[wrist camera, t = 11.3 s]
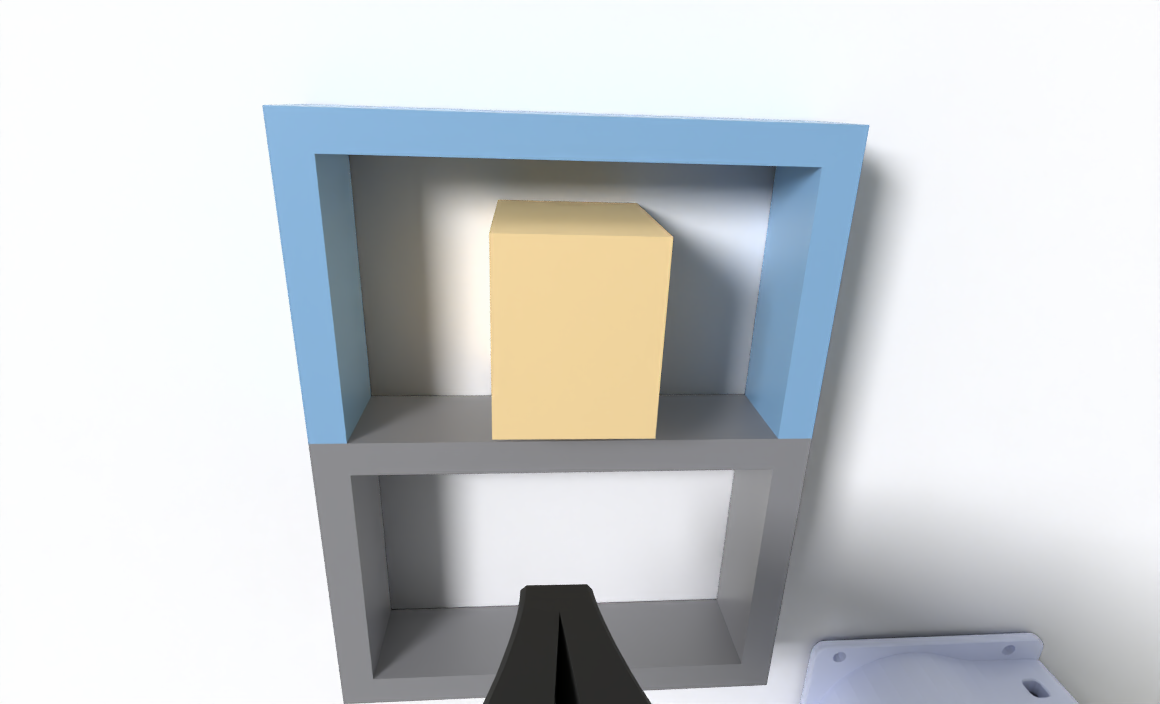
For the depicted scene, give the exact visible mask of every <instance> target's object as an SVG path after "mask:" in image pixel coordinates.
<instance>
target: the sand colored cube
mask: <svg viewBox="0 0 1160 704" xmlns="http://www.w3.org/2000/svg"><path fill="white" fill-rule="evenodd" d="M672 246H673V236H672V235H670V234H669V233H668V232H667V231H666V230H665V229H664V228H663V227H662V226H661V225H660V224H659V223H658V222H656V221H655V220H654V219H653V218H652V217H651V216H650V215H649V214H648V213H647V212H646V211H645V210H644V209H642V208H641V207H640V206H639V205H638V204H637V203H606V202H568V201H529V200H498V202H497V206H496V209H495V213H494V217H493V221H492V225H491V228H490V232H489V251H490V323H491V395H492V440H508V439H655V436H656V425H657V413H658V402H659V391H660V380H661V369H662V358H663V347H664V335H665V324H666V313H667V302H668V291H669V280H670V269H671V258H672Z"/></svg>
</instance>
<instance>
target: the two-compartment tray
mask: <svg viewBox="0 0 1160 704" xmlns="http://www.w3.org/2000/svg"><path fill="white" fill-rule="evenodd" d="M263 113H264V120H265V127H266V135H267V142H268V150H269V157H270V164H271V172H272V179H273V186H274V194H275V201H276V208H277V216H278V223H279V230H280V238H281V245H282V252H283V260H284V267H285V275H286V282H287V289H288V297H289V304H290V311H291V319H292V326H293V333H294V341H295V348H296V355H297V363H298V370H299V378H300V385H301V392H302V400H303V407H304V414H305V422H306V429H307V436H308V444H309V451H310V458H311V466H312V473H313V480H314V488H315V495H316V503H317V510H318V517H319V525H320V532H321V539H322V547H323V554H324V561H325V569H326V576H327V583H328V591H329V598H330V606H331V613H332V620H333V628H334V635H335V642H336V650H337V657H338V664H339V672H340V679H341V686H342V694H343V701H344V704H354V703H376V702H398V701H421V700H443V699H465V698H486V696H487V694H488V692H489V690H490V687H491V685H492V683H493V681H494V679H495V676H496V674H497V671H498V669H499V666H500V664H501V661H502V658H503V656H504V653H505V650H506V648H507V645H508V642H509V639H510V636H511V633H512V630H513V626H514V623H515V619H516V616H517V611H518V607H519V606H497V607H466V608H436V609H406V610H391V602H390V592H389V581H388V570H387V559H386V549H385V538H384V527H383V517H382V506H381V495H380V484H379V475H417V474H483V473H549V472H615V471H681V470H734V476H733V484H732V491H731V498H730V506H729V513H728V520H727V527H726V535H725V542H724V549H723V557H722V564H721V571H720V578H719V586H718V593H717V599H710V600H679V601H649V602H618V603H597V605H598V607H599V610H600V612H601V614H602V617H603V619H604V621H605V623H606V625H607V627H608V629H609V631H610V633H611V636H612V638H613V639H614V641H615V643H616V645H617V647H618V649H619V651H620V653H621V654H622V656H623V658H624V660H625V661H626V663H627V665H628V667H629V669H630V670H631V672H632V674H633V675H634V677H635V679H636V680H637V682H638V684H639V685H640V687H641V689H642V690H665V689H688V688H710V687H732V686H754V685H767V680H768V674H769V669H770V664H771V658H772V653H773V647H774V642H775V636H776V631H777V625H778V620H779V615H780V609H781V604H782V598H783V593H784V587H785V582H786V576H787V571H788V566H789V560H790V555H791V549H792V544H793V538H794V533H795V527H796V522H797V517H798V511H799V506H800V500H801V495H802V489H803V484H804V478H805V473H806V468H807V462H808V457H809V451H810V446H811V440H812V435H813V429H814V424H815V419H816V413H817V408H818V402H819V397H820V391H821V386H822V380H823V375H824V369H825V364H826V359H827V353H828V348H829V342H830V337H831V331H832V326H833V320H834V315H835V310H836V304H837V299H838V293H839V288H840V282H841V277H842V271H843V266H844V261H845V255H846V250H847V244H848V239H849V233H850V228H851V222H852V217H853V212H854V206H855V201H856V195H857V190H858V184H859V179H860V173H861V168H862V163H863V157H864V152H865V146H866V141H867V135H868V130H869V125H861V124H848V123H834V122H820V121H795V120H764V119H734V118H704V117H674V116H644V115H614V114H584V113H553V112H523V111H493V110H463V109H433V108H403V107H372V106H342V105H312V104H294V105H263ZM349 155H385V156H422V157H460V158H497V159H534V160H572V161H609V162H646V163H684V164H721V165H758V166H776V171H775V178H774V185H773V192H772V200H771V207H770V214H769V222H768V229H767V236H766V243H765V251H764V258H763V265H762V273H761V280H760V287H759V294H758V302H757V309H756V316H755V323H754V331H753V338H752V345H751V353H750V360H749V367H748V374H747V382H746V389H745V394H712V395H659V402H658V413H657V425H656V436H655V439H508V440H492V396H371V388H370V377H369V366H368V356H367V345H366V334H365V323H364V313H363V302H362V291H361V281H360V270H359V259H358V248H357V238H356V227H355V216H354V205H353V195H352V184H351V173H350V163H349Z"/></svg>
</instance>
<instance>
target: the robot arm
mask: <svg viewBox="0 0 1160 704" xmlns="http://www.w3.org/2000/svg"><path fill="white" fill-rule="evenodd" d="M1042 649H1043V642H1042V640H1041V639H1040V638H1039V637H1038V636H1037V635H1035V634H1034V633H1011V634H986V635H960V636H935V637H909V638H884V639H858V640H832V641H821V642H819V643H817V644H816V645H815V646H814V647H813V648H812V650H811V654H810V659H809V664H808V668H807V673H806V678H805V682H804V687H803V692H802V697H801V701H800V704H1079V703H1078V702H1077V701H1076V700H1075V699H1074V698H1073V696H1072V695H1071V694H1070V693H1069V692H1068V691H1067V690H1066V689H1065V688H1064V687H1063V686H1062V685H1061V683H1060V682H1059V681H1058V680H1057V679H1056V678H1055V677H1054V676H1053V675H1052V674H1051V673H1050V671H1049V670H1048V669H1047V668H1046V667H1045V666H1044V665H1043V664H1042V663H1041V662H1040V661H1039V657H1040V655H1041V652H1042ZM836 653H837V654H836ZM483 704H651V702H650V701H649V699H648V698H647V696H646V695H645V693H644V692H643V690H642V689H641V687H640V685H639V684H638V682H637V680H636V679H635V677H634V675H633V674H632V672H631V670H630V669H629V667H628V665H627V663H626V661H625V660H624V658H623V656H622V654H621V653H620V651H619V649H618V647H617V645H616V643H615V641H614V639H613V638H612V636H611V633H610V631H609V629H608V627H607V625H606V623H605V621H604V619H603V617H602V614H601V612H600V610H599V607H598V605H597V602H596V600H595V597H594V594H593V591H592V589H591V588H590V587H589V586H588V585H587V584H582V585H529V586H525V587H524V588H523V589H522V590H521V591H520V601H519V607H518V611H517V616H516V619H515V623H514V626H513V630H512V633H511V636H510V639H509V642H508V645H507V648H506V650H505V653H504V656H503V658H502V661H501V664H500V666H499V669H498V671H497V674H496V676H495V679H494V681H493V683H492V685H491V687H490V690H489V692H488V694H487V696H486V699H485V701H484V703H483Z"/></svg>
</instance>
